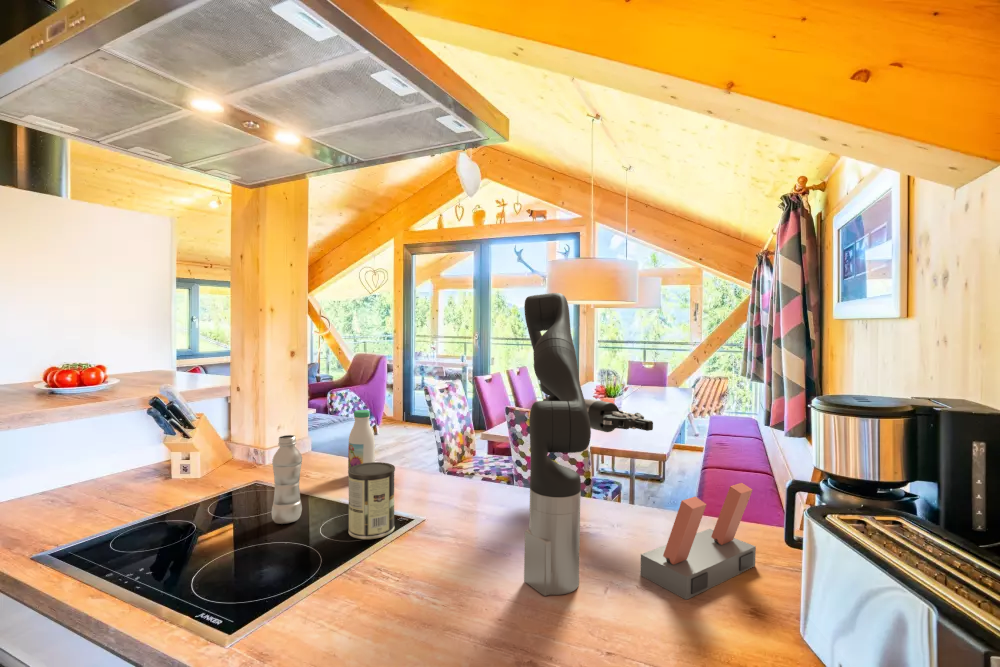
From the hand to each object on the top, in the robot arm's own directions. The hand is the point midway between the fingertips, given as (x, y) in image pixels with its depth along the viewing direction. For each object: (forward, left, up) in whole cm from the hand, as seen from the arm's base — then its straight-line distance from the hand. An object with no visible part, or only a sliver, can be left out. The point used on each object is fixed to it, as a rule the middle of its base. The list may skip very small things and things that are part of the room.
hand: (650, 426), depth 116 cm
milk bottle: (-43, +73, -24) cm, 88 cm away
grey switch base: (-7, -18, -24) cm, 31 cm away
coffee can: (-54, +34, -24) cm, 68 cm away
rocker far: (0, -18, -20) cm, 27 cm away
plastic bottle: (-69, +49, -24) cm, 88 cm away
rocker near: (-15, -18, -20) cm, 31 cm away
